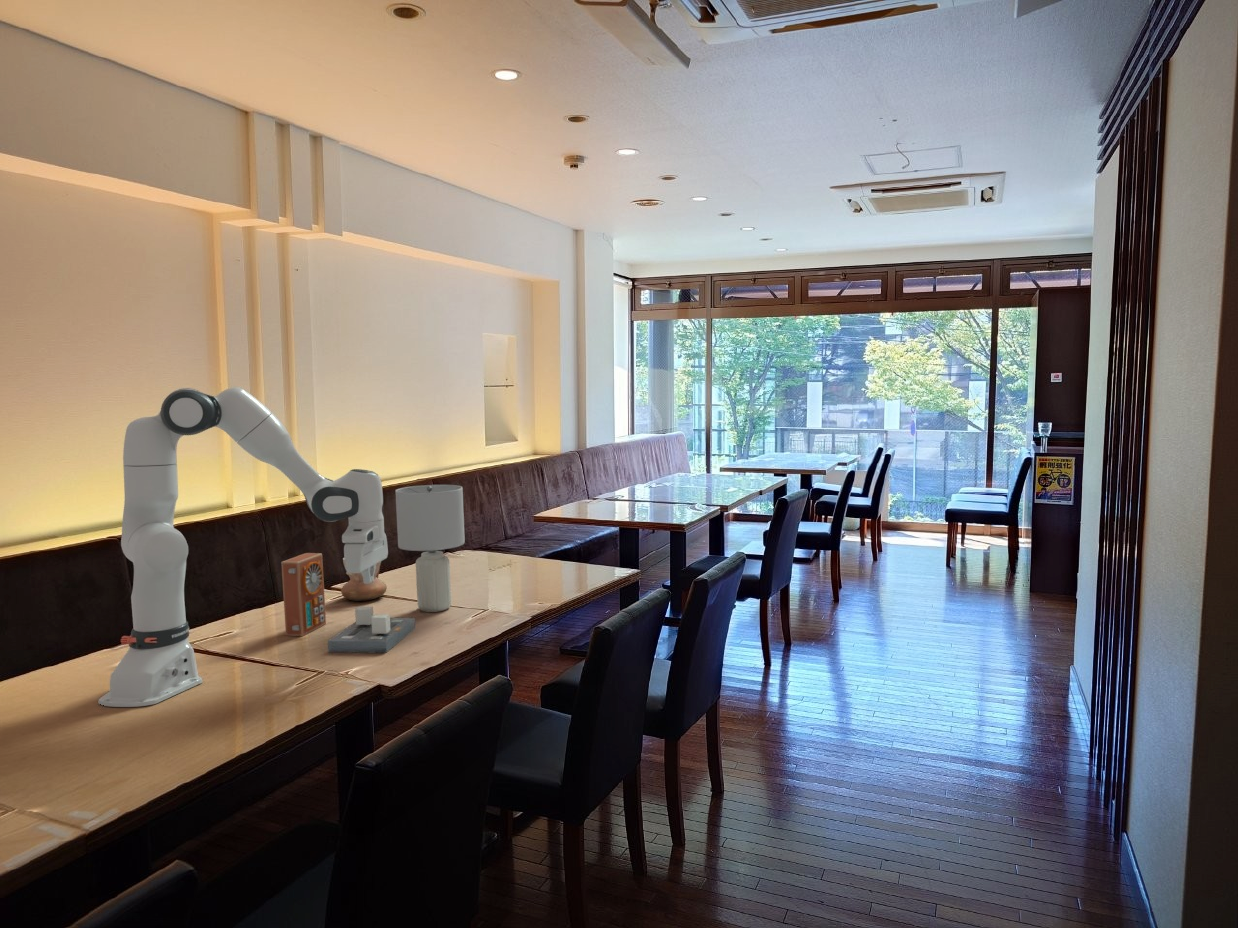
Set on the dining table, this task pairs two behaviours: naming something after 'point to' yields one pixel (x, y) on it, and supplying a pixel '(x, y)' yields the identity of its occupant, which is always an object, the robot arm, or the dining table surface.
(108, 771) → the dining table surface
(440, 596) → the lamp
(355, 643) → the breaker box
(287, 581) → the control panel
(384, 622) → the block
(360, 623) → the block
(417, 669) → the dining table surface
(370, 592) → the ceramic jug
